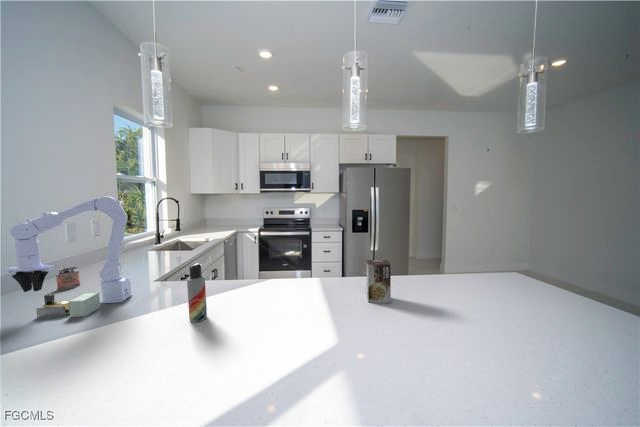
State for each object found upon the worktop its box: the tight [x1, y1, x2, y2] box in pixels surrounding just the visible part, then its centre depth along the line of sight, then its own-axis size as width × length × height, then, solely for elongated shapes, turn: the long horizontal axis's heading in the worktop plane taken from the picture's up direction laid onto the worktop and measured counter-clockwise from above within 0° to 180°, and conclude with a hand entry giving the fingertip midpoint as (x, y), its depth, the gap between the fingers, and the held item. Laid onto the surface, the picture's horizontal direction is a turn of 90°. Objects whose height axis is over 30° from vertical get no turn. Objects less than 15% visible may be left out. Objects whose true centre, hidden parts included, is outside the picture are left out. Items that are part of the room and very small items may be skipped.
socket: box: [68, 292, 101, 318], centre depth 97 cm, size 5×7×6 cm
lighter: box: [55, 265, 81, 291], centre depth 122 cm, size 8×3×10 cm, turn 143°
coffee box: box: [366, 259, 392, 304], centre depth 104 cm, size 9×6×16 cm
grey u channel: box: [35, 300, 70, 319], centre depth 96 cm, size 9×5×4 cm, turn 96°
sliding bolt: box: [42, 293, 70, 311], centre depth 96 cm, size 9×3×6 cm, turn 96°
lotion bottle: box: [186, 263, 208, 323], centre depth 90 cm, size 6×6×20 cm
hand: (32, 290), depth 94 cm, fingers open, 3 cm apart
